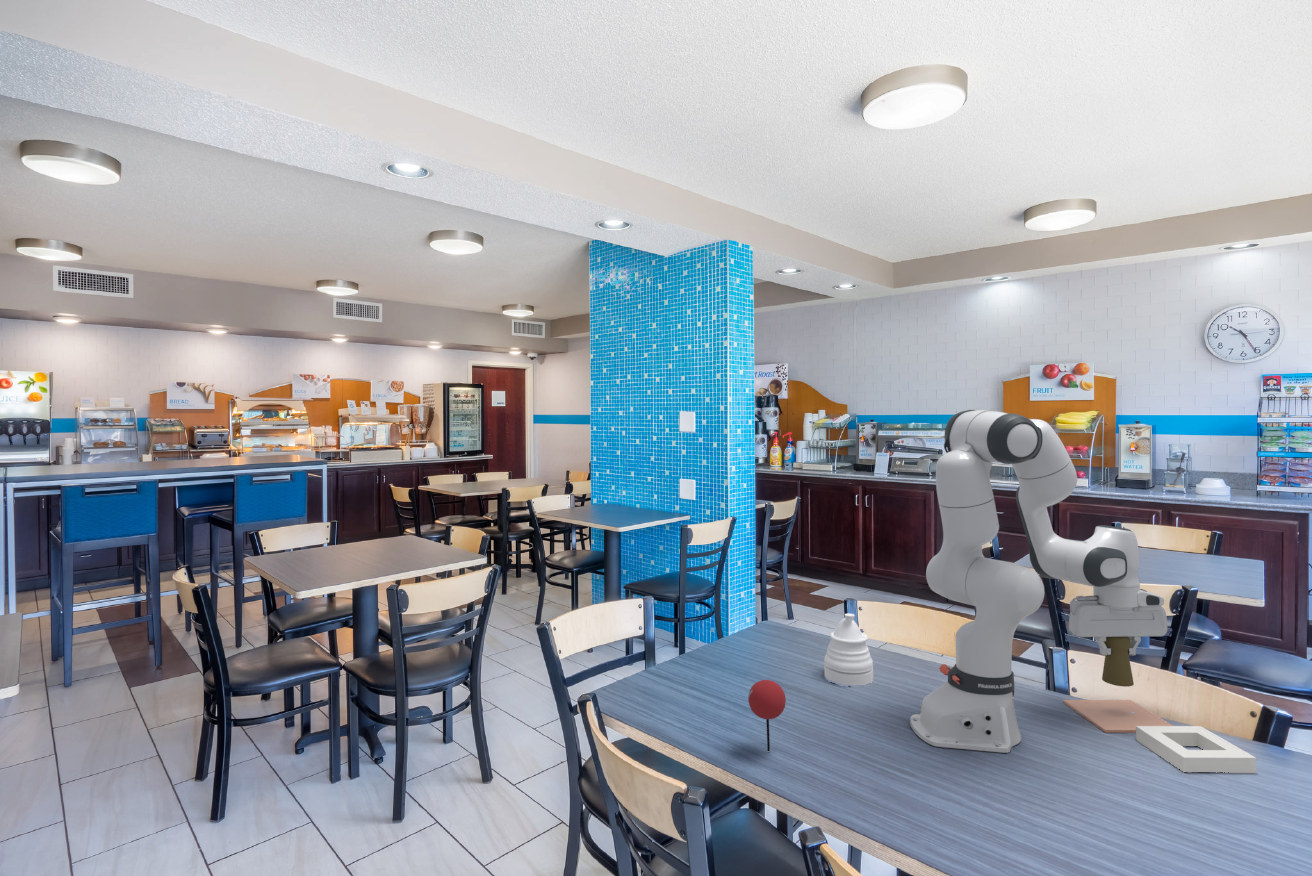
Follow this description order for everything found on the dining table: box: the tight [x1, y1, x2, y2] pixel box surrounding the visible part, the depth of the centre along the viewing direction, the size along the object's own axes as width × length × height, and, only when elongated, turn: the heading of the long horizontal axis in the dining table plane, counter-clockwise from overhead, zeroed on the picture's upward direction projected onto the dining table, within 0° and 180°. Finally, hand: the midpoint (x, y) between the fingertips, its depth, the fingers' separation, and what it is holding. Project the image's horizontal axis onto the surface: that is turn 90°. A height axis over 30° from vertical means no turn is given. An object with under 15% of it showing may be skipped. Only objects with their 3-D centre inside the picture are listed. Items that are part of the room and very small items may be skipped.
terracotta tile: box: [1062, 699, 1174, 734], centre depth 148 cm, size 16×16×1 cm
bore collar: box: [1135, 725, 1257, 774], centre depth 130 cm, size 13×13×3 cm
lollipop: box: [747, 679, 787, 752], centre depth 136 cm, size 8×8×15 cm
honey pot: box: [823, 613, 874, 686], centre depth 175 cm, size 13×13×18 cm
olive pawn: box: [1101, 637, 1134, 688], centre depth 149 cm, size 6×6×11 cm
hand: (1117, 654), depth 148 cm, fingers closed on olive pawn, 4 cm apart
